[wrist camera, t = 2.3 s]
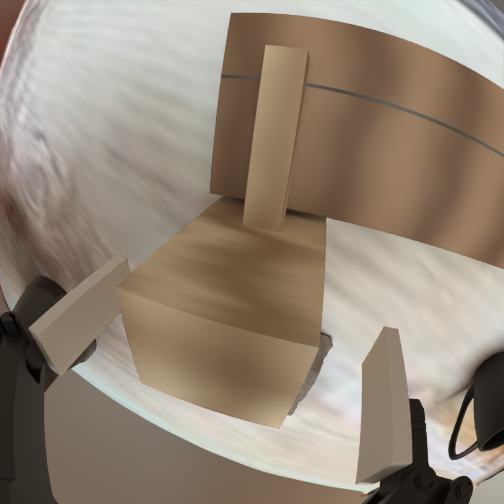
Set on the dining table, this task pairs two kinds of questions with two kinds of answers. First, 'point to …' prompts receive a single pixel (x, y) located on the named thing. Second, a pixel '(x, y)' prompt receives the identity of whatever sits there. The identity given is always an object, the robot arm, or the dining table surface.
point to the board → (373, 133)
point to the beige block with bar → (238, 278)
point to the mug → (484, 408)
